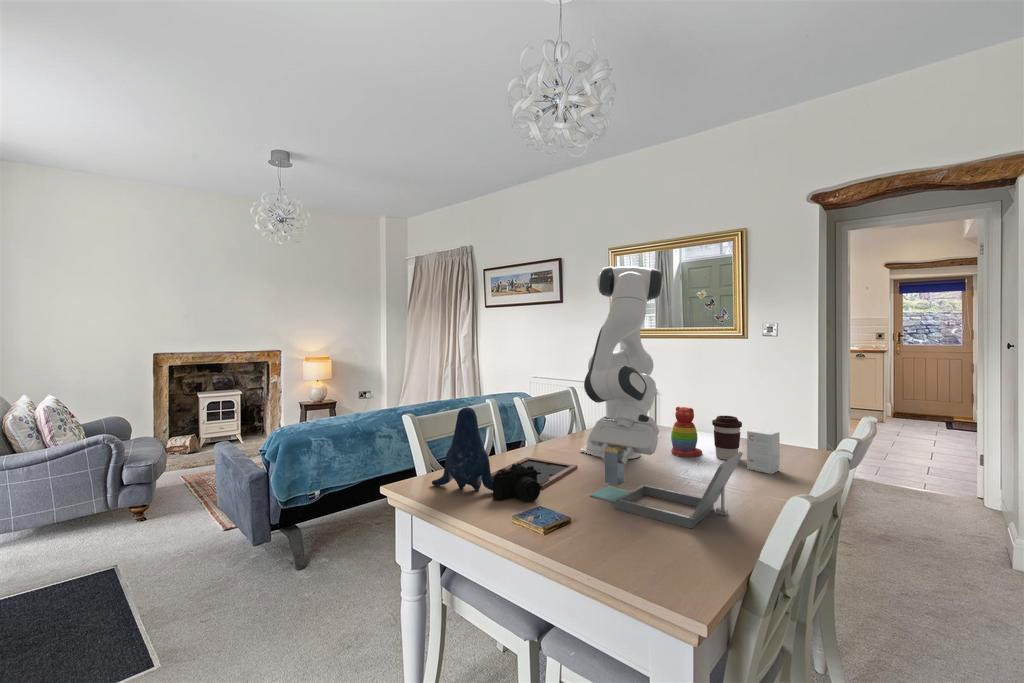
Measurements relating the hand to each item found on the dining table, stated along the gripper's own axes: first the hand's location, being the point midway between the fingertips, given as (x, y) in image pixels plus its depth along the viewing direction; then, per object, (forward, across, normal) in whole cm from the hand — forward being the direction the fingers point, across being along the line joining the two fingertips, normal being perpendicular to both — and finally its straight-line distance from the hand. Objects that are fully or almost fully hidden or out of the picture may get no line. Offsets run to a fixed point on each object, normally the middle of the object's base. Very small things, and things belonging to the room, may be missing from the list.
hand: (613, 461), depth 138 cm
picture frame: (+6, -31, +9) cm, 33 cm away
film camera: (+20, -20, -5) cm, 28 cm away
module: (+4, 0, +5) cm, 6 cm away
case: (+7, +19, +7) cm, 21 cm away
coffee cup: (-36, +12, +51) cm, 64 cm away
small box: (-31, +26, +45) cm, 61 cm away
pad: (+7, 0, +8) cm, 10 cm away
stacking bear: (-34, -2, +48) cm, 59 cm away
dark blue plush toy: (+23, -36, -9) cm, 44 cm away
